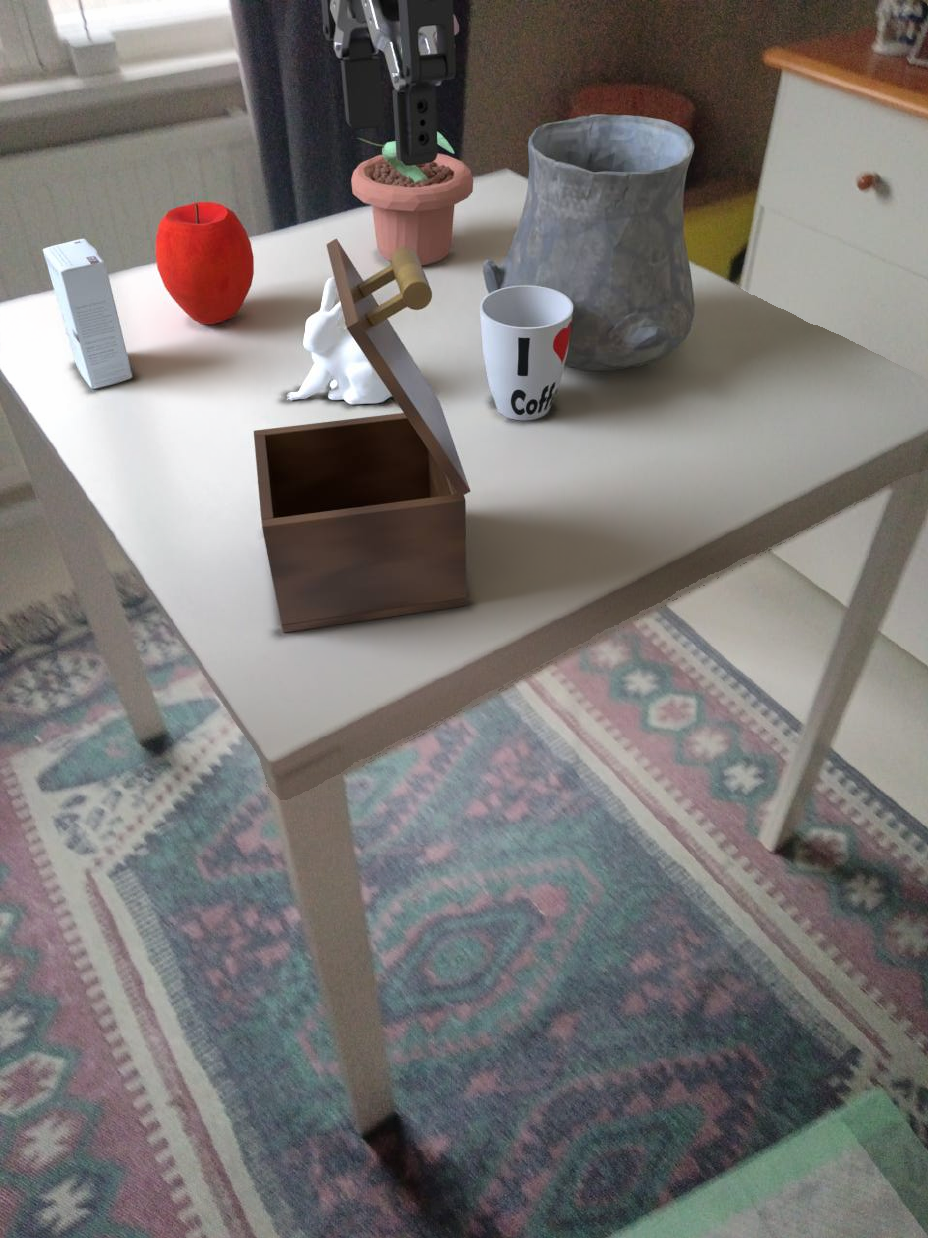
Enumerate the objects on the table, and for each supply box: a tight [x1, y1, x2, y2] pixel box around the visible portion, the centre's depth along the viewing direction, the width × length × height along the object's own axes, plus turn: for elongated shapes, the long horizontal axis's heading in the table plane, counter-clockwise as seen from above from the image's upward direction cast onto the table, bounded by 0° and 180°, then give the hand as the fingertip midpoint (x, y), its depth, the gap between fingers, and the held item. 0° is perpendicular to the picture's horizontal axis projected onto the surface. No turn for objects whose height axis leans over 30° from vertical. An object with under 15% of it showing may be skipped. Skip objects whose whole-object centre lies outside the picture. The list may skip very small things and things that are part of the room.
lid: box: [326, 238, 471, 497], centre depth 64 cm, size 14×12×5 cm
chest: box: [253, 412, 468, 633], centre depth 72 cm, size 14×12×10 cm
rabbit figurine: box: [286, 276, 397, 405], centre depth 92 cm, size 12×8×10 cm, turn 79°
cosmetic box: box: [42, 238, 133, 390], centre depth 93 cm, size 6×4×12 cm
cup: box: [479, 285, 573, 421], centre depth 89 cm, size 8×8×10 cm
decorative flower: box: [350, 14, 474, 266], centre depth 106 cm, size 15×14×30 cm
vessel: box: [482, 113, 696, 371], centre depth 93 cm, size 22×22×20 cm
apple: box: [155, 201, 255, 325], centre depth 101 cm, size 10×10×12 cm
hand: (390, 143), depth 58 cm, fingers open, 8 cm apart
